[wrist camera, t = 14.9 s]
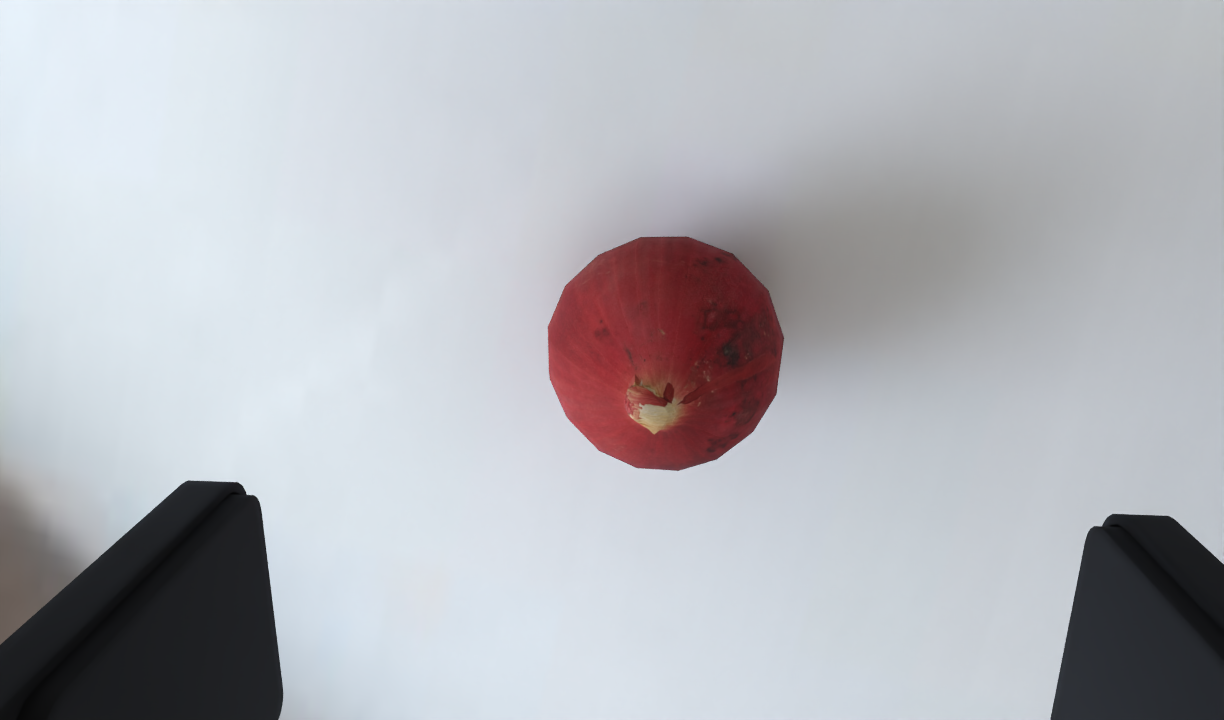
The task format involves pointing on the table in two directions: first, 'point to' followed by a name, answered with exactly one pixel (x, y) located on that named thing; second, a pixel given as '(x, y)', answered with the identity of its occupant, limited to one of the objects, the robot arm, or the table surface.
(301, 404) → the table surface
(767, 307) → the onion
